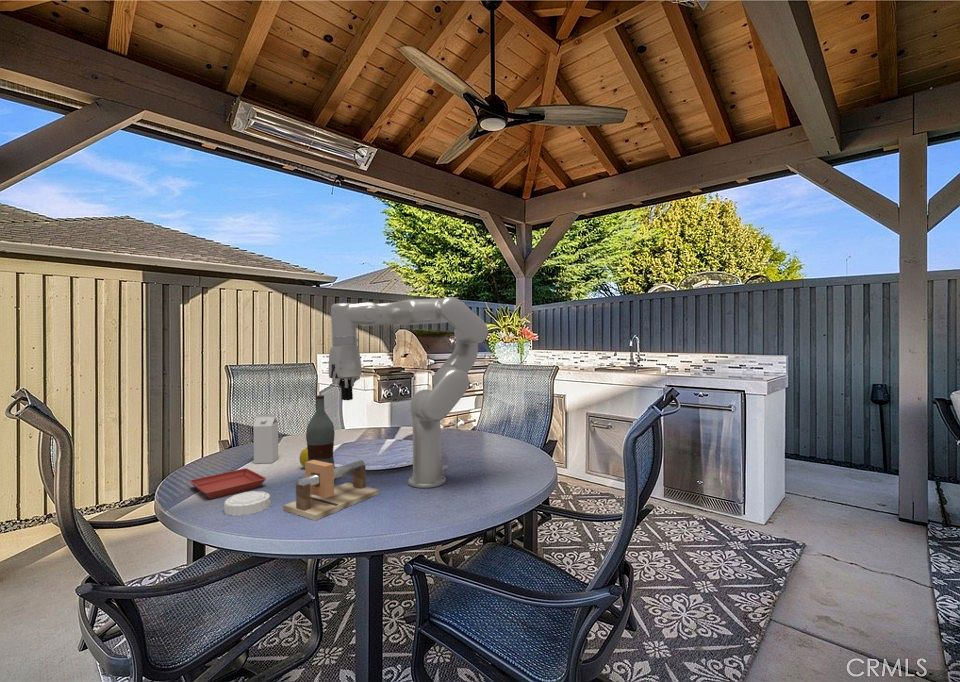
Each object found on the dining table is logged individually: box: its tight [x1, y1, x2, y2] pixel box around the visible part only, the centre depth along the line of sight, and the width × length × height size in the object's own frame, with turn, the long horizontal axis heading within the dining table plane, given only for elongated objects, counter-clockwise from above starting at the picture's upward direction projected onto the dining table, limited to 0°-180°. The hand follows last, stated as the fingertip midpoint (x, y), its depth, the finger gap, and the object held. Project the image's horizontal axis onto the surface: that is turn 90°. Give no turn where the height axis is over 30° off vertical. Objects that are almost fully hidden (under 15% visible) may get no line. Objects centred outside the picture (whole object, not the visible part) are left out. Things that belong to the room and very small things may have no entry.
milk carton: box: [253, 413, 279, 465], centre depth 182 cm, size 7×7×19 cm
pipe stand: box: [282, 465, 380, 522], centre depth 136 cm, size 24×14×8 cm, turn 148°
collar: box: [304, 460, 335, 498], centre depth 132 cm, size 3×9×9 cm, turn 58°
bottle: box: [305, 394, 336, 468], centre depth 154 cm, size 9×9×30 cm
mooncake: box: [223, 490, 271, 517], centre depth 132 cm, size 12×12×4 cm
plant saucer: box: [189, 468, 267, 499], centre depth 150 cm, size 18×18×3 cm
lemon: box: [299, 447, 308, 468], centre depth 172 cm, size 6×6×8 cm
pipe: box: [296, 459, 366, 490], centre depth 136 cm, size 23×3×3 cm, turn 148°
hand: (347, 399), depth 143 cm, fingers closed
